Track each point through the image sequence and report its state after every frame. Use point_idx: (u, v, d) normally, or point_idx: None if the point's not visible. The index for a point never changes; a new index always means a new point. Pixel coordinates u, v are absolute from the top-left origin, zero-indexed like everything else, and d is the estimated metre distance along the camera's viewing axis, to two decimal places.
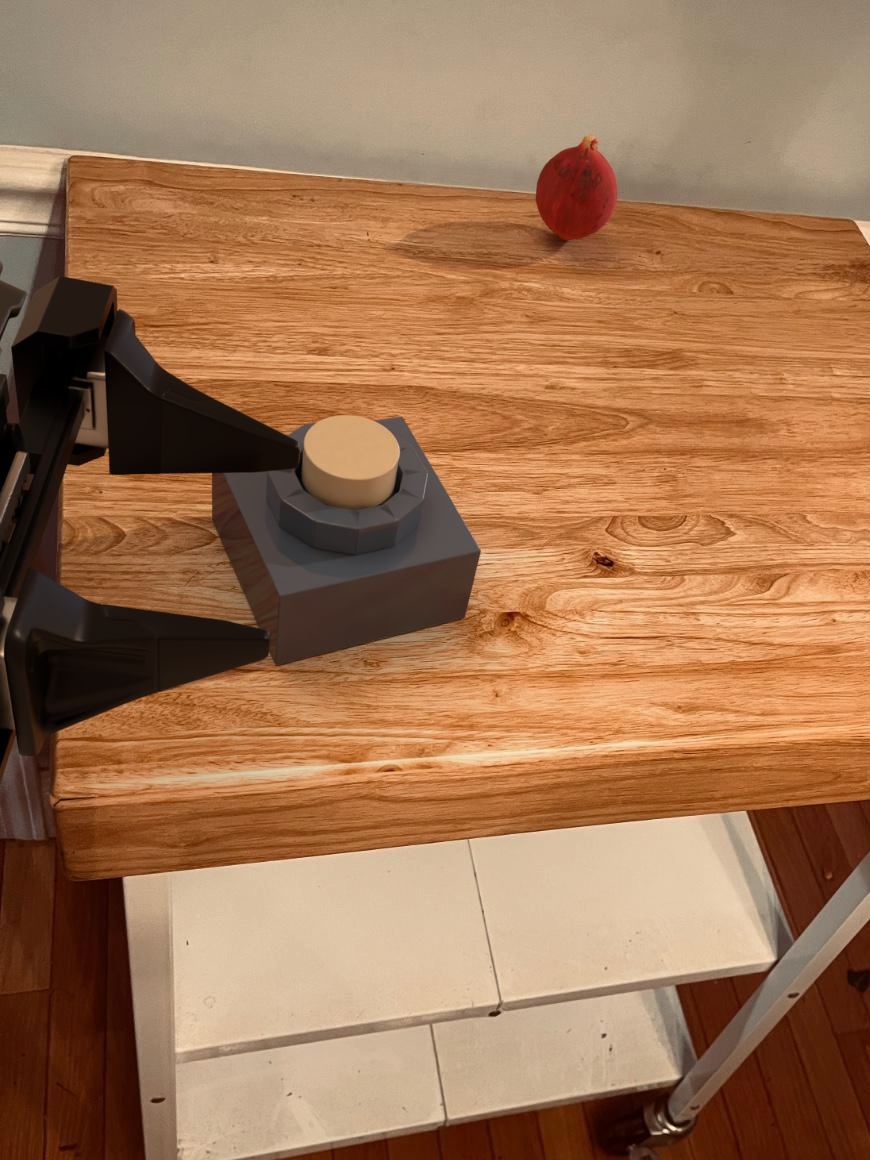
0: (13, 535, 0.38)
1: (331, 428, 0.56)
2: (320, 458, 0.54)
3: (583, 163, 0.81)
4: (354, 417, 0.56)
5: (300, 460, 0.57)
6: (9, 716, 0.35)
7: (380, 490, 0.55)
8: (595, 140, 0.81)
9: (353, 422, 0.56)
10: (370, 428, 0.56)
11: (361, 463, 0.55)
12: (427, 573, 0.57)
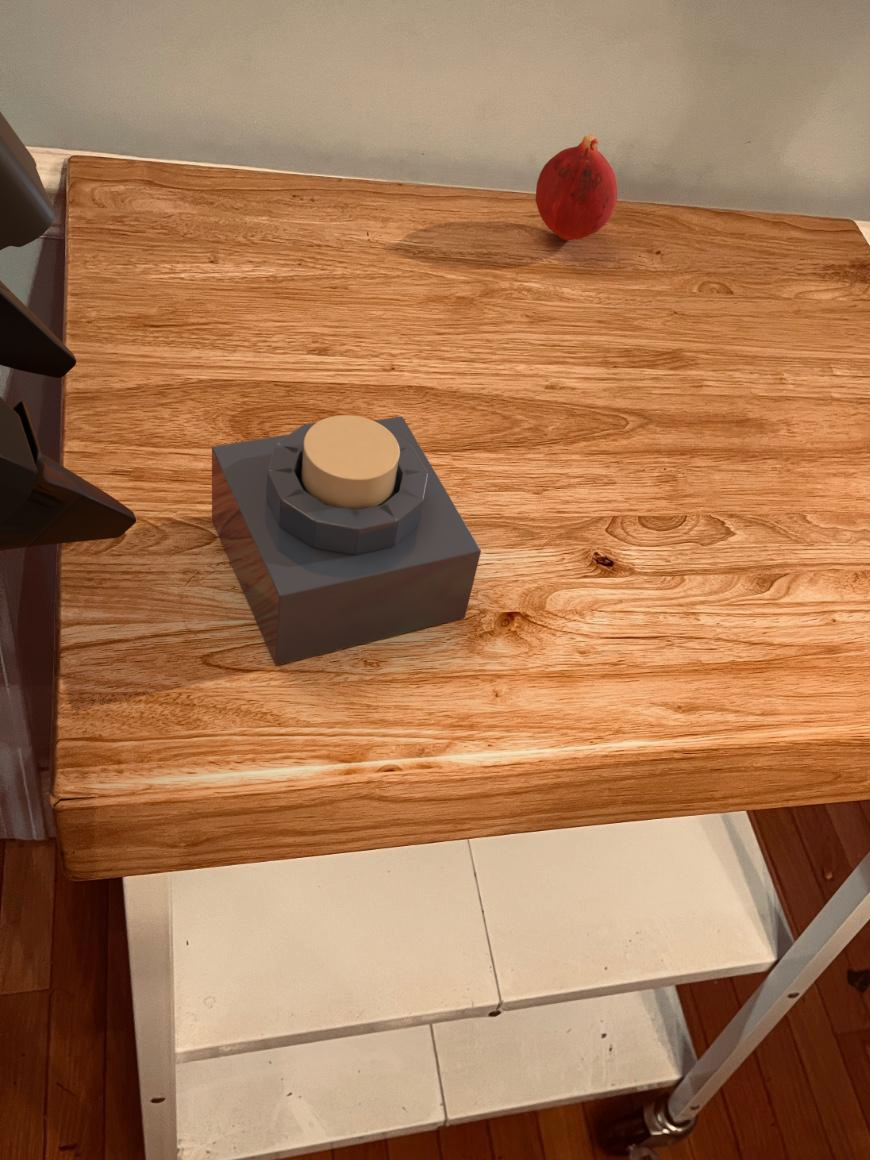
0: None
1: (331, 428, 0.56)
2: (320, 458, 0.54)
3: (583, 163, 0.81)
4: (354, 417, 0.56)
5: (300, 460, 0.57)
6: None
7: (380, 490, 0.55)
8: (595, 140, 0.81)
9: (353, 422, 0.56)
10: (370, 428, 0.56)
11: (361, 463, 0.55)
12: (427, 573, 0.57)
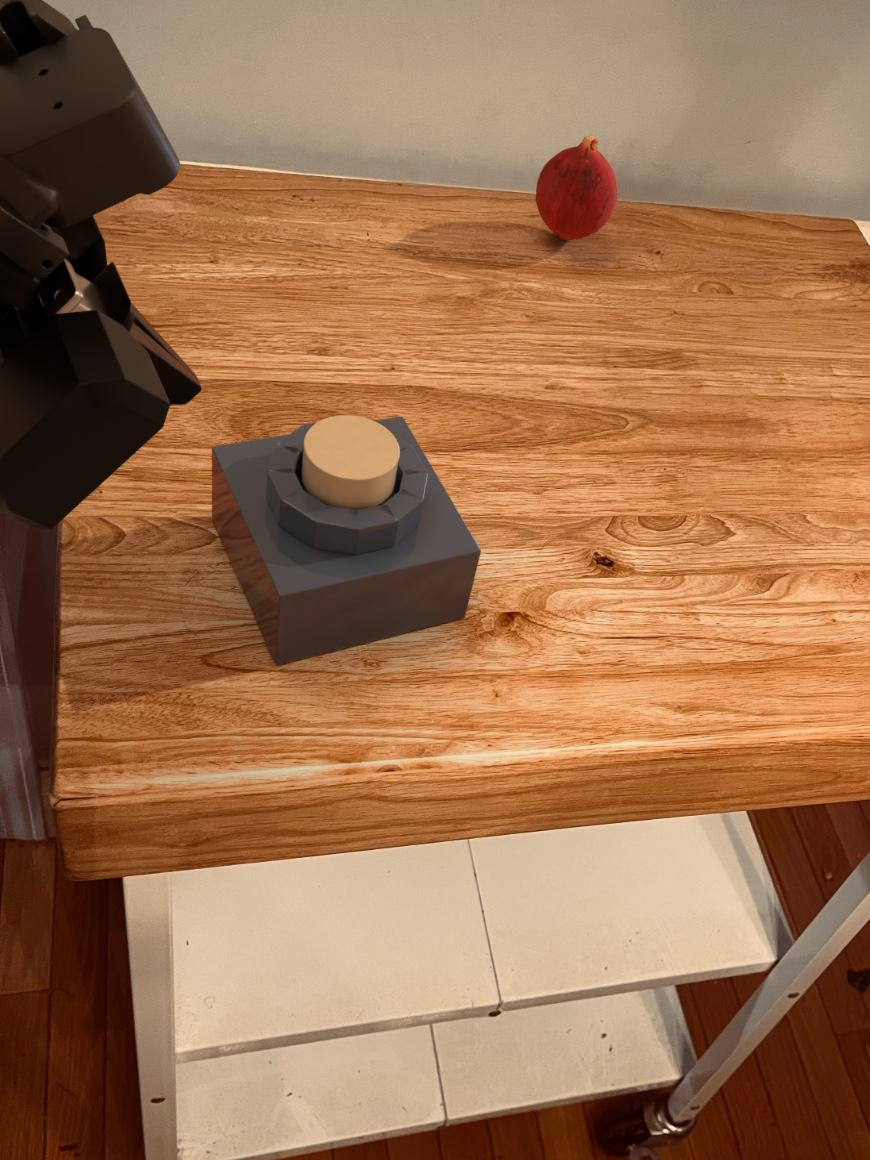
0: (33, 304, 0.40)
1: (331, 428, 0.56)
2: (320, 458, 0.54)
3: (583, 163, 0.81)
4: (354, 417, 0.56)
5: (300, 460, 0.57)
6: None
7: (380, 490, 0.55)
8: (595, 140, 0.81)
9: (353, 422, 0.56)
10: (370, 428, 0.56)
11: (361, 463, 0.55)
12: (427, 573, 0.57)
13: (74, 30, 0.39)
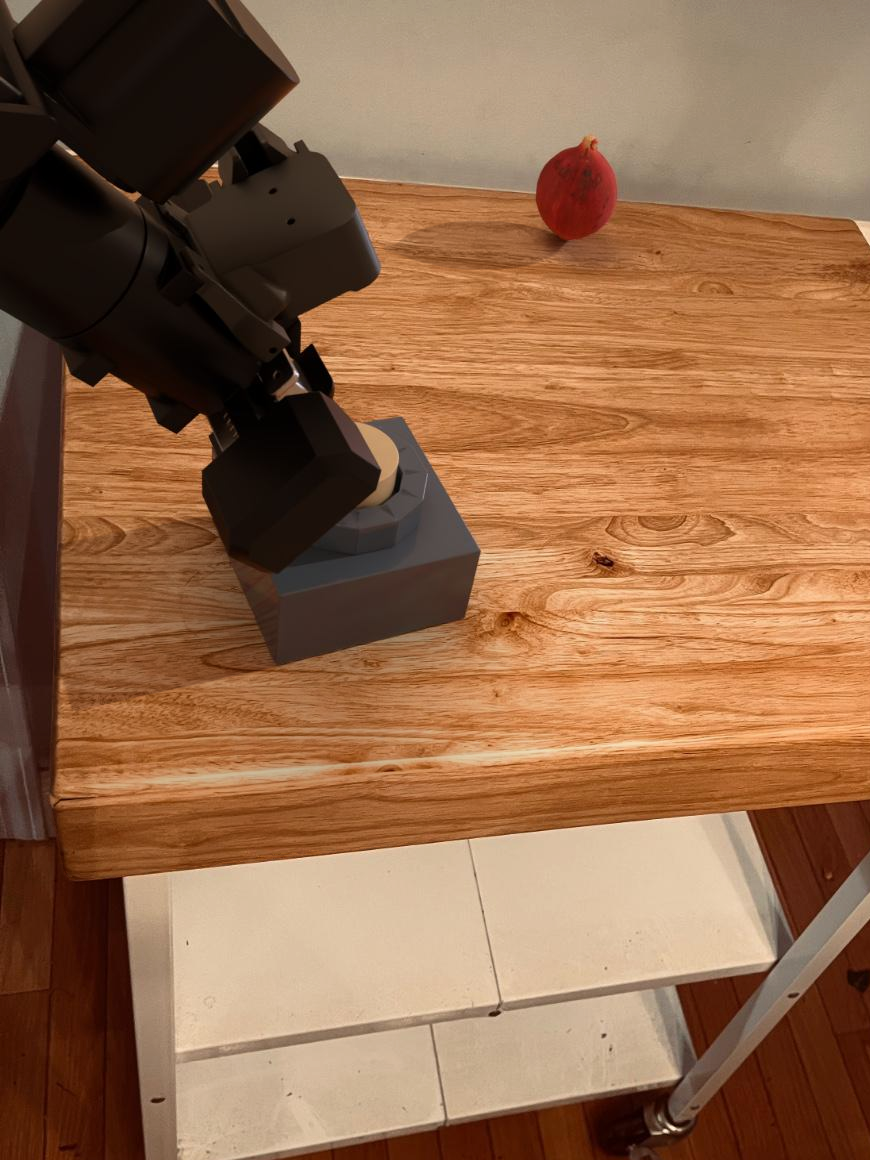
0: None
1: None
2: None
3: (583, 163, 0.81)
4: None
5: None
6: None
7: (379, 496, 0.55)
8: (595, 140, 0.81)
9: None
10: (369, 434, 0.56)
11: None
12: (427, 573, 0.57)
13: (290, 151, 0.46)
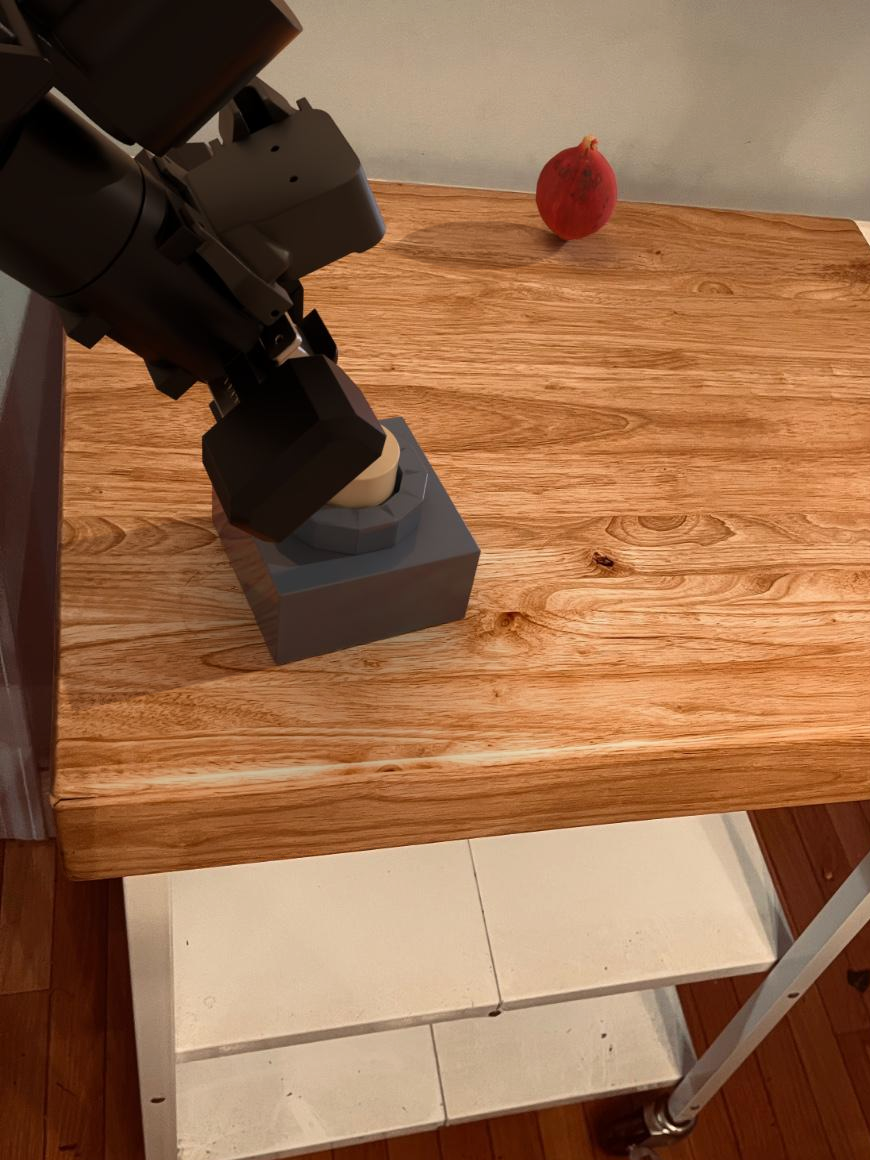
0: None
1: None
2: None
3: (583, 163, 0.81)
4: None
5: None
6: None
7: (380, 490, 0.55)
8: (595, 140, 0.81)
9: None
10: None
11: None
12: (427, 573, 0.57)
13: (293, 109, 0.45)
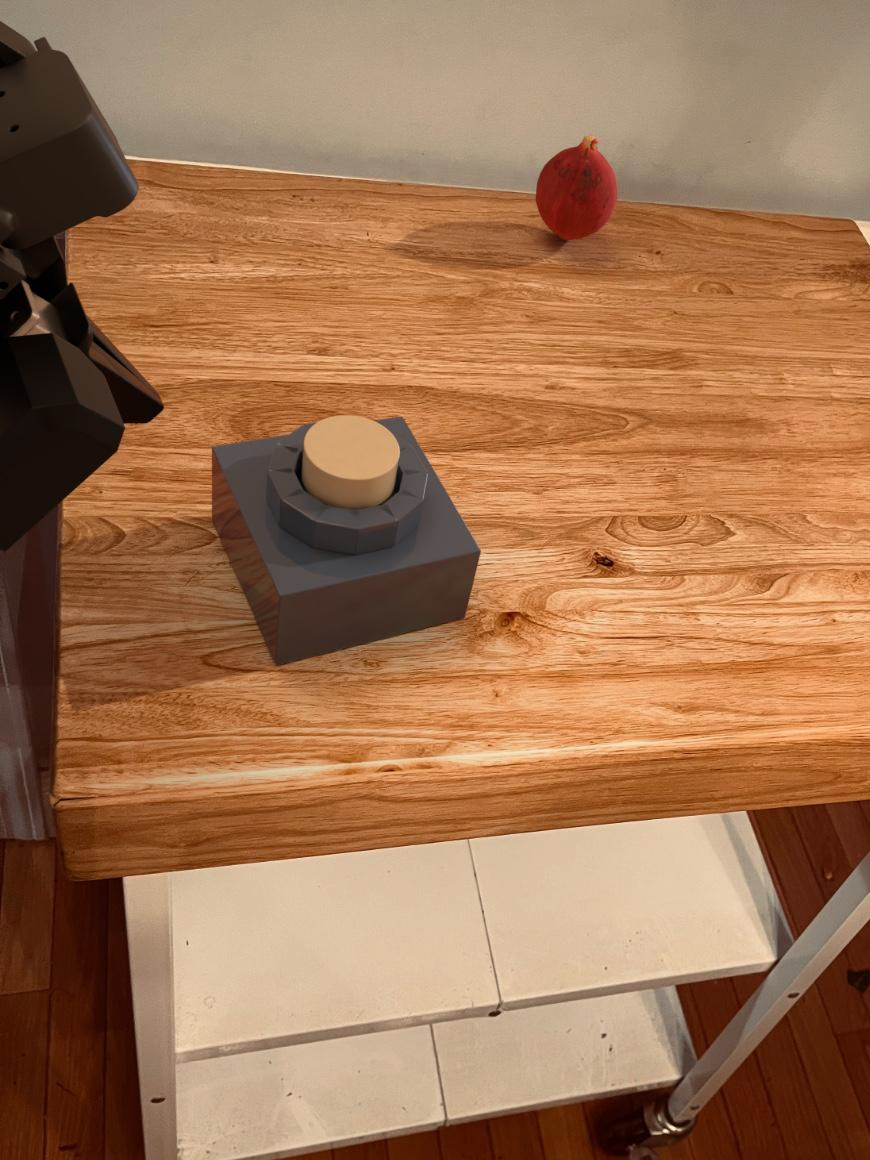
0: None
1: (331, 428, 0.56)
2: (320, 458, 0.54)
3: (583, 163, 0.81)
4: (354, 417, 0.56)
5: (300, 460, 0.57)
6: None
7: (380, 490, 0.55)
8: (595, 140, 0.81)
9: (353, 422, 0.56)
10: (370, 428, 0.56)
11: (361, 463, 0.55)
12: (427, 573, 0.57)
13: (33, 51, 0.39)
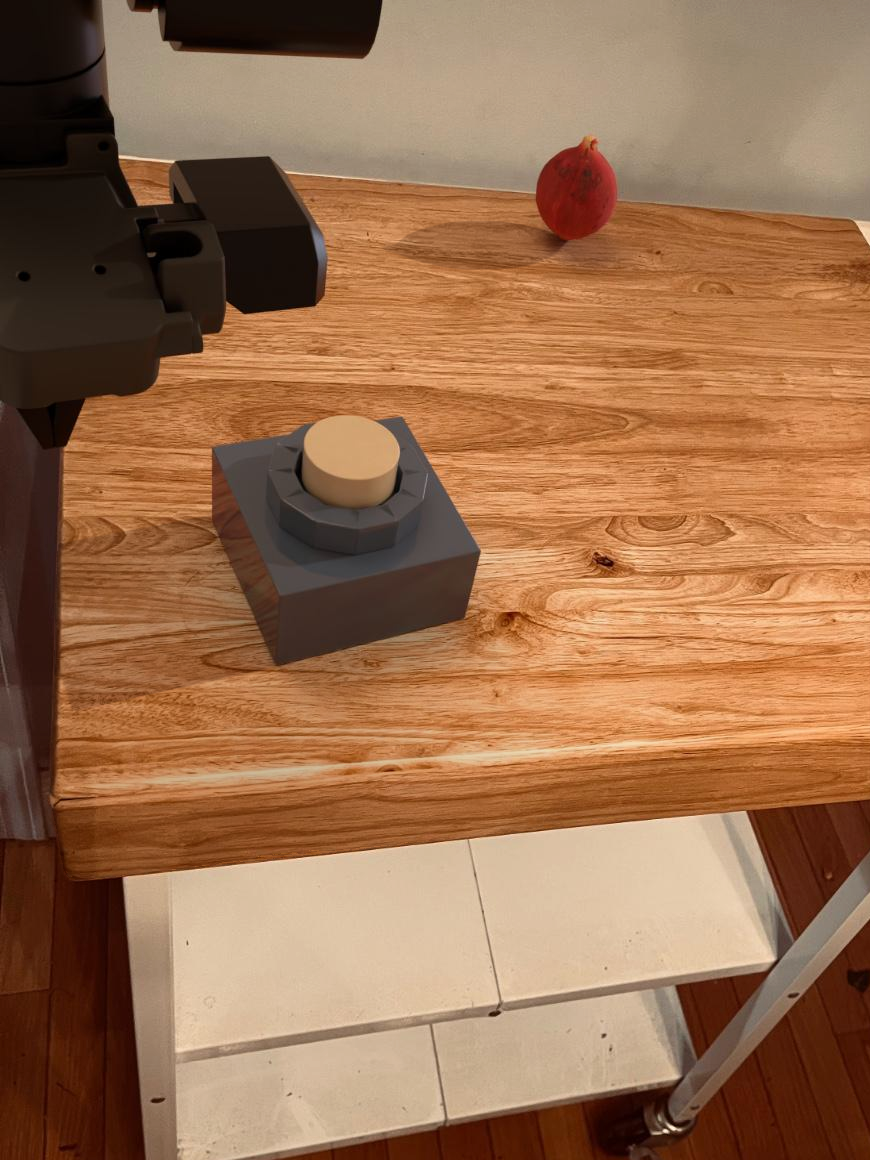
0: None
1: (331, 428, 0.56)
2: (320, 458, 0.54)
3: (583, 163, 0.81)
4: (354, 417, 0.56)
5: (300, 460, 0.57)
6: None
7: (380, 490, 0.55)
8: (595, 140, 0.81)
9: (353, 422, 0.56)
10: (370, 428, 0.56)
11: (361, 463, 0.55)
12: (427, 573, 0.57)
13: (194, 312, 0.35)
